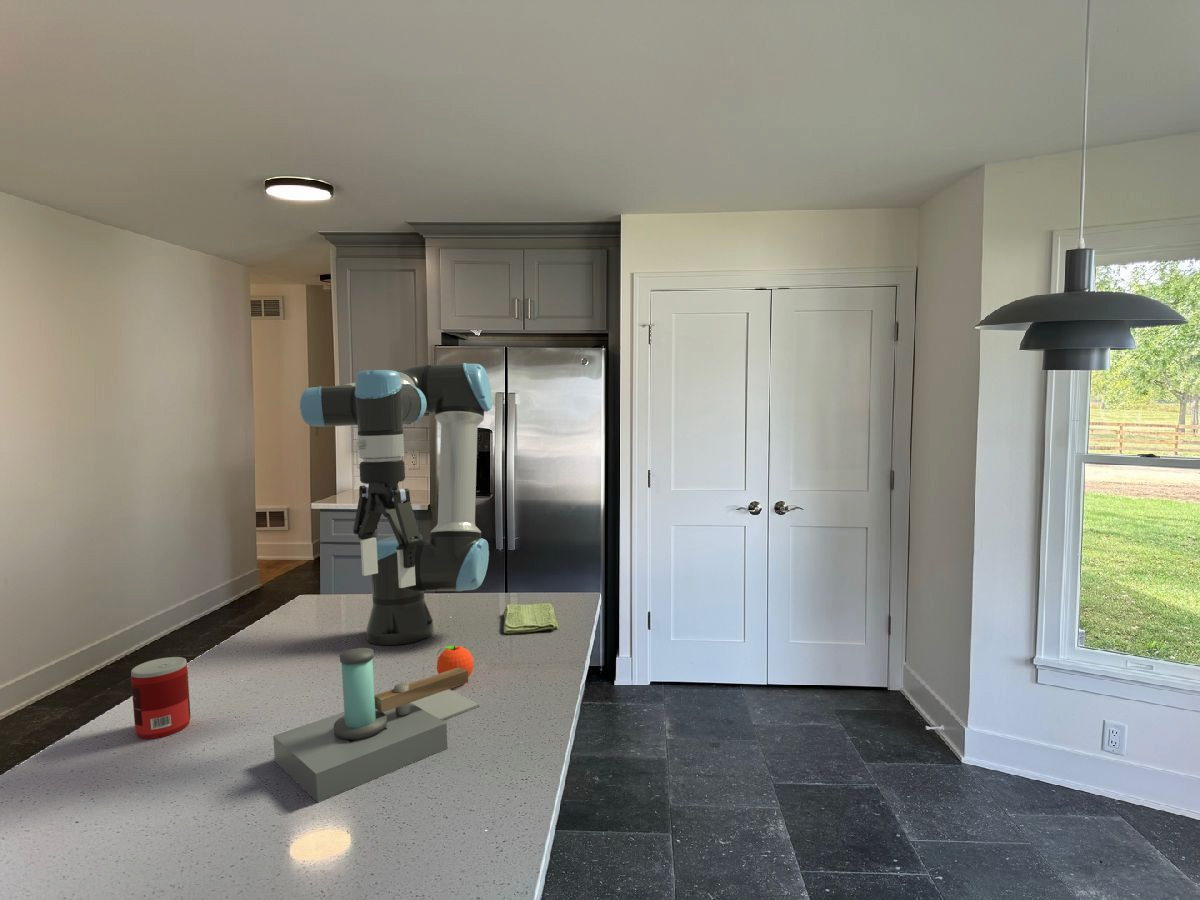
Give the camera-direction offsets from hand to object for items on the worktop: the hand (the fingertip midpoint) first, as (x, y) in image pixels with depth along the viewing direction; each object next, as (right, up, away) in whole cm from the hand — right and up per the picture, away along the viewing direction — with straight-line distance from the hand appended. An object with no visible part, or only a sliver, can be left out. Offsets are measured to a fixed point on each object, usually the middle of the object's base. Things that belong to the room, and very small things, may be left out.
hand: (388, 580), depth 122 cm
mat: (+9, -22, 0) cm, 24 cm away
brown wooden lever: (+9, -19, -9) cm, 22 cm away
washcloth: (+20, -20, +47) cm, 55 cm away
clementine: (+9, -22, +11) cm, 26 cm away
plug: (+1, -24, -16) cm, 29 cm away
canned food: (-36, -24, -5) cm, 44 cm away
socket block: (+1, -24, -16) cm, 29 cm away
